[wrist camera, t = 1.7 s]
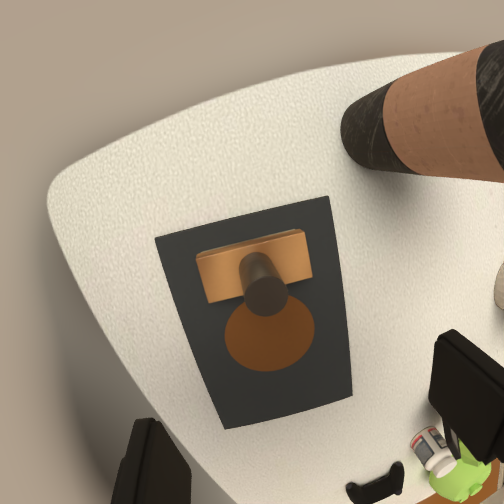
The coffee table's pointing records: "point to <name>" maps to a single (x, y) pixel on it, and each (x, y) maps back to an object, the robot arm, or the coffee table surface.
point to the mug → (499, 288)
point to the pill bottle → (433, 452)
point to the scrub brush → (256, 270)
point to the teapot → (461, 477)
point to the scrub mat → (265, 320)
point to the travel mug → (435, 120)
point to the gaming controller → (378, 487)
